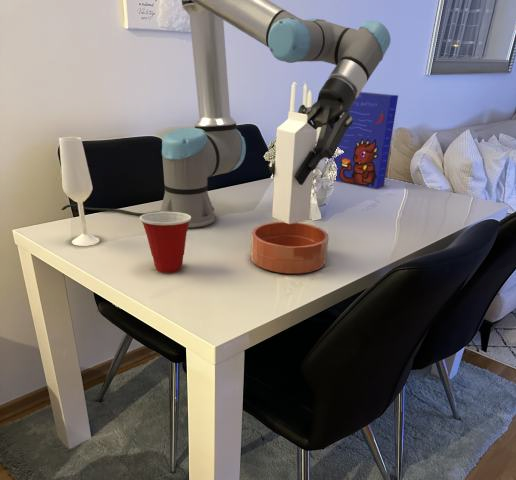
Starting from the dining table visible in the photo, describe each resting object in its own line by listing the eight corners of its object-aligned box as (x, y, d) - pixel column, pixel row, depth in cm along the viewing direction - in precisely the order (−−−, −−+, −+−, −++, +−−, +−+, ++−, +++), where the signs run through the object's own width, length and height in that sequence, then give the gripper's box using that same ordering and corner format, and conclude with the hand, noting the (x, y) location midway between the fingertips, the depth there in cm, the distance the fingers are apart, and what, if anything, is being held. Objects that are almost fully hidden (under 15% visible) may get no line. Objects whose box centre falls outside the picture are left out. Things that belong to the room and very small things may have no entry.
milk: (288, 224, 111) (296, 115, 99) (271, 217, 115) (276, 111, 103) (309, 220, 114) (318, 114, 102) (292, 213, 118) (299, 110, 106)
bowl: (258, 276, 110) (259, 248, 107) (246, 248, 125) (246, 222, 122) (335, 273, 113) (338, 246, 110) (314, 245, 128) (316, 220, 125)
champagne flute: (97, 235, 129) (83, 135, 117) (102, 243, 124) (88, 140, 112) (70, 238, 127) (52, 136, 114) (73, 247, 122) (56, 141, 109)
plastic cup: (194, 259, 118) (193, 208, 112) (191, 278, 109) (189, 223, 102) (148, 258, 117) (143, 207, 111) (140, 277, 108) (135, 222, 102)
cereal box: (383, 185, 184) (398, 94, 168) (376, 188, 180) (390, 95, 164) (332, 175, 195) (341, 89, 179) (324, 178, 191) (332, 90, 175)
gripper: (384, 107, 106) (327, 198, 105) (313, 97, 118) (261, 178, 117) (374, 80, 100) (313, 175, 99) (300, 72, 112) (245, 157, 110)
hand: (285, 177), depth 108 cm, fingers closed on milk, 7 cm apart
